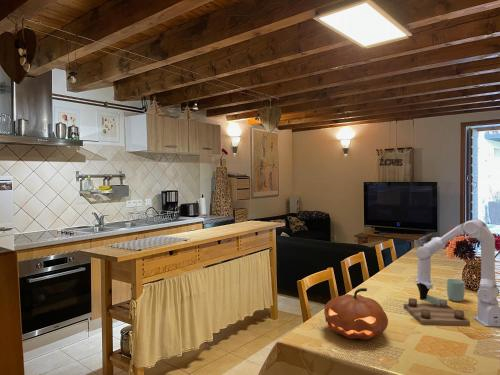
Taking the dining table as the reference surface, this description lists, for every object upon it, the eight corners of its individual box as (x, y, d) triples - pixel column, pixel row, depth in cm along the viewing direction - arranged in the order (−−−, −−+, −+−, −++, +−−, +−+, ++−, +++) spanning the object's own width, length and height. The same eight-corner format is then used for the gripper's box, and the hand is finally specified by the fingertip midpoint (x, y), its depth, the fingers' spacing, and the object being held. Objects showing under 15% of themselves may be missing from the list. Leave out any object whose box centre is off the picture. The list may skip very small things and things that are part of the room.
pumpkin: (313, 338, 141) (314, 289, 140) (334, 316, 162) (334, 274, 162) (380, 354, 128) (381, 301, 127) (393, 328, 149) (394, 283, 149)
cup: (466, 303, 179) (467, 283, 179) (449, 302, 181) (450, 282, 181) (461, 298, 187) (461, 279, 187) (444, 297, 189) (444, 278, 188)
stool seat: (470, 325, 153) (470, 314, 152) (421, 324, 154) (421, 313, 153) (446, 308, 173) (446, 298, 172) (403, 307, 174) (403, 297, 173)
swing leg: (448, 306, 169) (448, 300, 169) (444, 307, 167) (444, 301, 167) (423, 298, 180) (423, 292, 180) (419, 299, 179) (419, 293, 179)
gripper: (409, 267, 183) (408, 293, 183) (421, 275, 168) (421, 304, 169) (424, 267, 183) (423, 294, 183) (437, 275, 168) (436, 304, 169)
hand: (423, 299), depth 176 cm, fingers closed, pressing on swing leg
